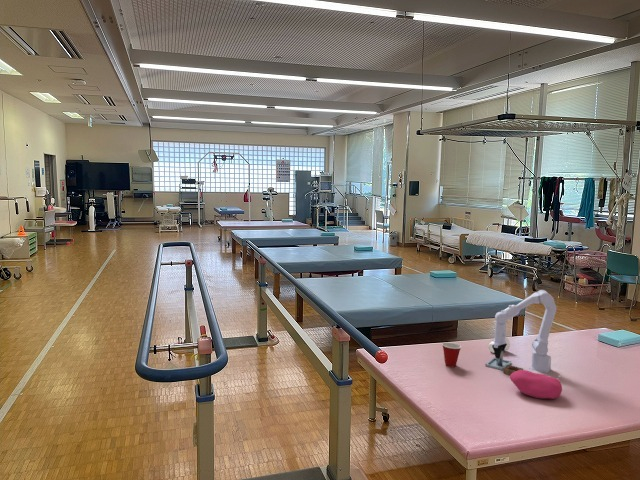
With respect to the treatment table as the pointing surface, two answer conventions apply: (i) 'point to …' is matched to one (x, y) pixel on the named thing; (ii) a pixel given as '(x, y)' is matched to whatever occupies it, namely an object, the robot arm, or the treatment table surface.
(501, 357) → the dowel
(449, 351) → the plastic cup
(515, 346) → the treatment table surface
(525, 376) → the cushion
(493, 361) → the tray
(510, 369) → the socket block
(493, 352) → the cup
